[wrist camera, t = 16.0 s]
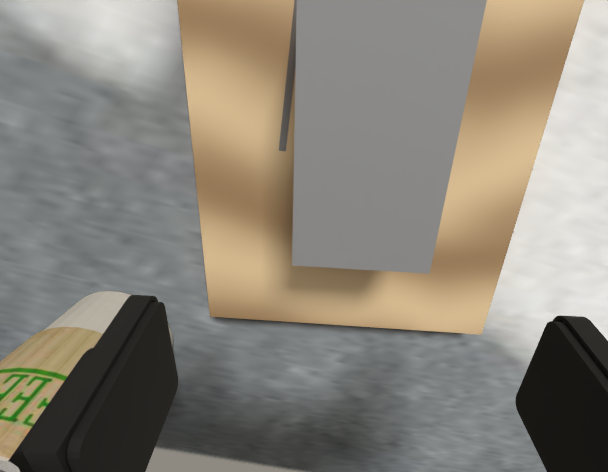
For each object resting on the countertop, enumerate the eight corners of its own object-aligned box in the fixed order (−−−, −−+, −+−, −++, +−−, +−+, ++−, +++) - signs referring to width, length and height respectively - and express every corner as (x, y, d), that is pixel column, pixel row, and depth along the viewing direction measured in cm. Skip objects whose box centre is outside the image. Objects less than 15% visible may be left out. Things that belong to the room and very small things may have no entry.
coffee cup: (134, 236, 21) (-215, 608, 8) (234, 364, 25) (118, 759, 11) (4, 300, 23) (-424, 658, 10) (112, 406, 27) (-97, 768, 14)
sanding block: (308, -6, 14) (297, -21, 9) (439, -3, 14) (490, -15, 9) (302, 205, 18) (291, 265, 13) (405, 210, 17) (429, 273, 13)
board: (142, -530, 10) (113, -616, 9) (718, -549, 10) (782, -643, 8) (217, 299, 22) (210, 316, 21) (472, 315, 22) (481, 334, 20)
